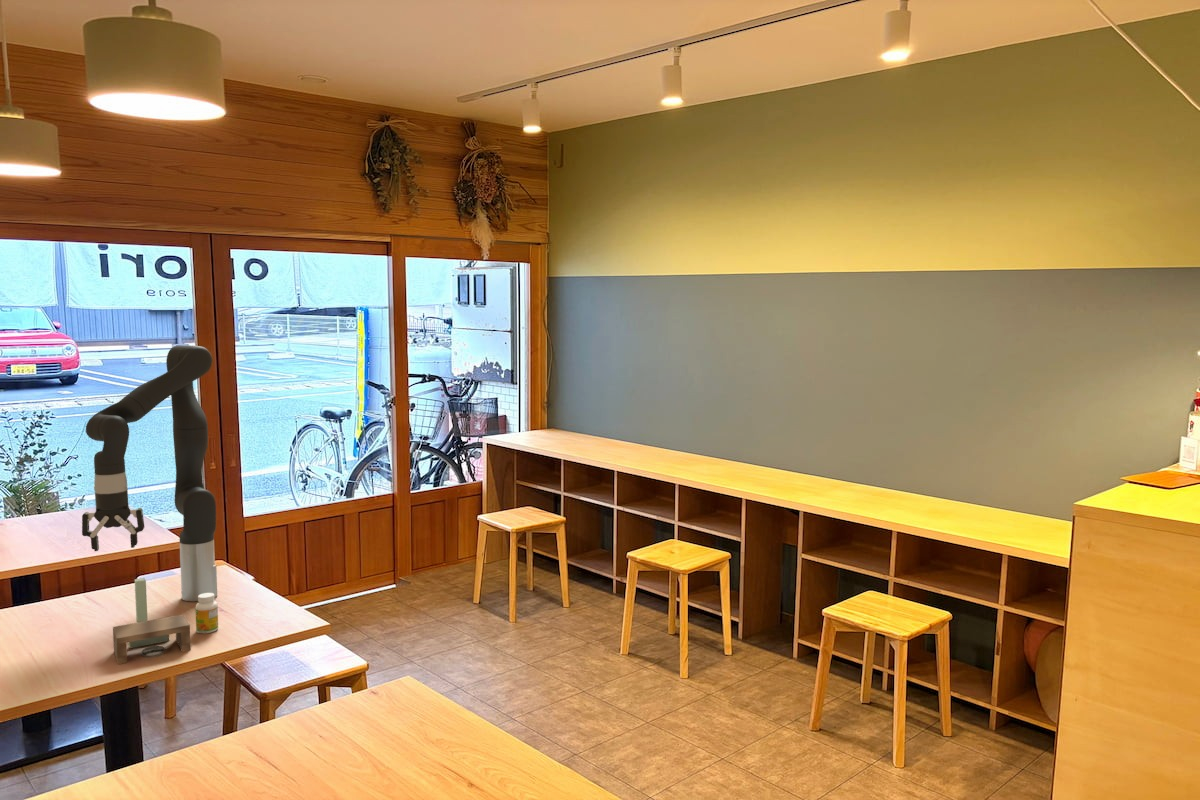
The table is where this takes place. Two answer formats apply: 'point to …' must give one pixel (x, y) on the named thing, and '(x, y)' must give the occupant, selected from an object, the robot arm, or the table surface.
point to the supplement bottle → (206, 613)
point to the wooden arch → (150, 633)
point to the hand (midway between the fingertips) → (114, 548)
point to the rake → (143, 614)
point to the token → (153, 651)
